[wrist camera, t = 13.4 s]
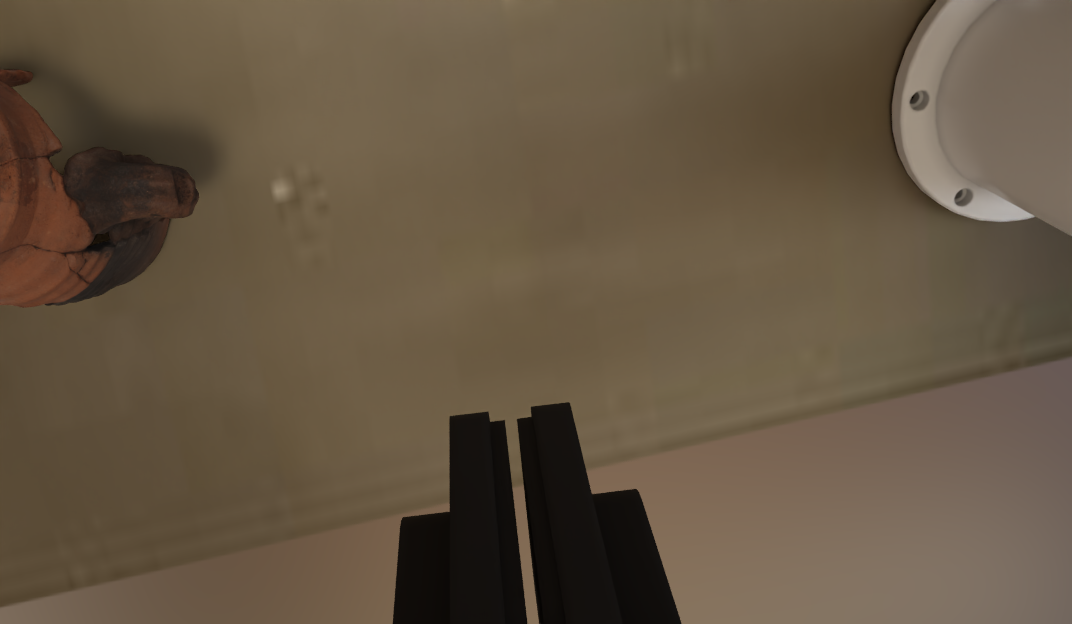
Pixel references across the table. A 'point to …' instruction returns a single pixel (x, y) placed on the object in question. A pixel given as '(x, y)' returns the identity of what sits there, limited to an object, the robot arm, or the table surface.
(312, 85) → the table surface
